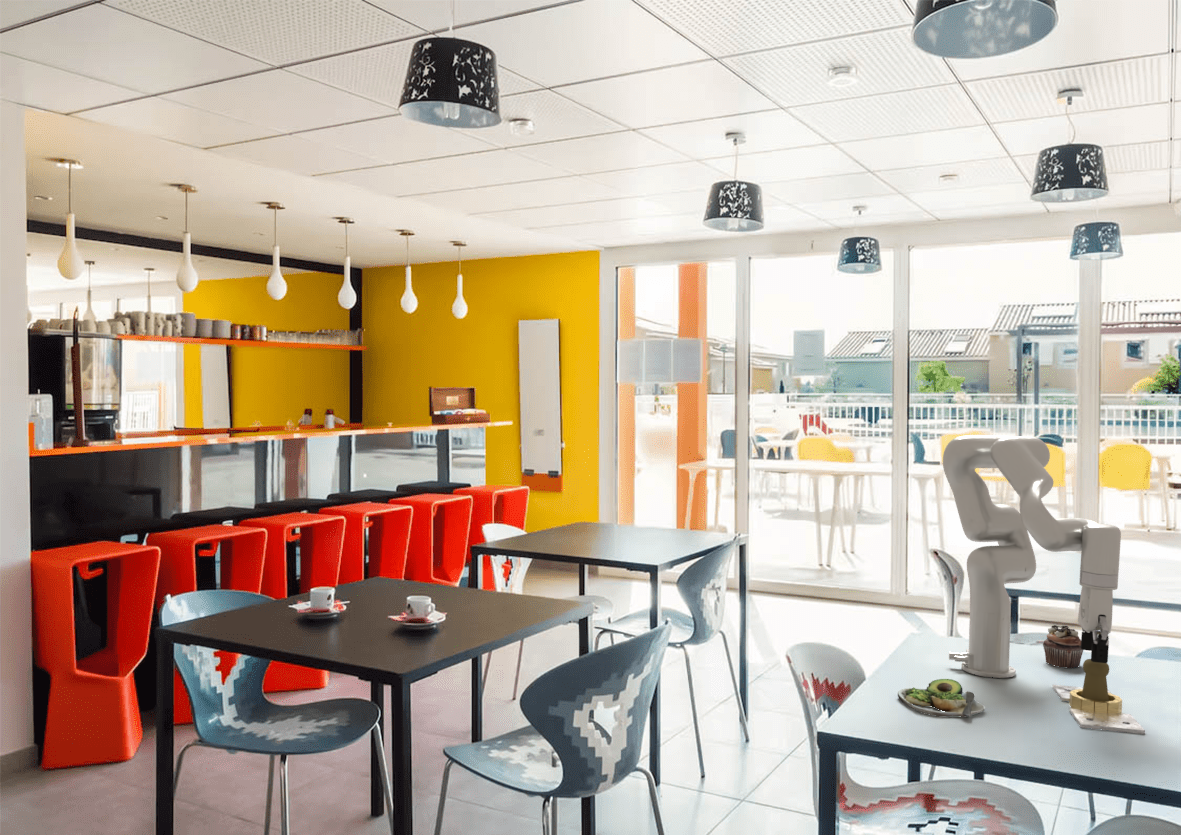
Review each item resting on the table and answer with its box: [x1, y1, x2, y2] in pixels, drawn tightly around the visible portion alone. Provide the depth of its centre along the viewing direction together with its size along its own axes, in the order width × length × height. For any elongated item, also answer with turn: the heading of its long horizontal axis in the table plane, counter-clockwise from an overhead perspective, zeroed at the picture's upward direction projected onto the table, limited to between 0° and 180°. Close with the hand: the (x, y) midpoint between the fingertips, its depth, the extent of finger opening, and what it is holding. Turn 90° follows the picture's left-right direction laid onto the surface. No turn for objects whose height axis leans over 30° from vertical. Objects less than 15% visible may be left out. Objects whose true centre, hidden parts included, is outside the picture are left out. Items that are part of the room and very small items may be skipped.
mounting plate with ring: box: [1051, 684, 1146, 735], centre depth 215 cm, size 12×30×3 cm, turn 165°
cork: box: [1081, 658, 1110, 701], centre depth 215 cm, size 6×6×11 cm
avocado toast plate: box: [897, 678, 985, 718], centre depth 214 cm, size 19×18×5 cm
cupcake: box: [1042, 624, 1084, 669], centre depth 253 cm, size 10×10×10 cm
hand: (1093, 656), depth 215 cm, fingers open, 9 cm apart
